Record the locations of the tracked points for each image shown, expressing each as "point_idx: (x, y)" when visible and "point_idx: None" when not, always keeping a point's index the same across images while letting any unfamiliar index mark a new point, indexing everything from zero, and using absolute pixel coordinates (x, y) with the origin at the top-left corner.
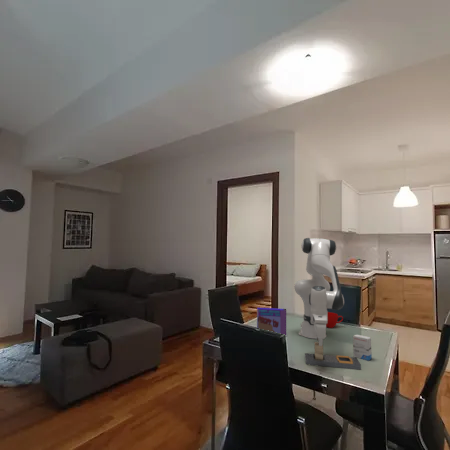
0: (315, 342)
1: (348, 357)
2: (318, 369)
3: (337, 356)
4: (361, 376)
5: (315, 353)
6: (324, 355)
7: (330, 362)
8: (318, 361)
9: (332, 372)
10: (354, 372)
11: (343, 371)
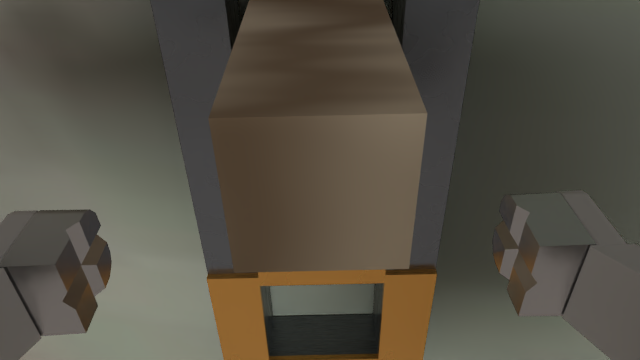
0: (372, 133)
1: (383, 357)
2: (37, 4)
3: (393, 280)
4: (92, 348)
5: (241, 31)
6: (423, 146)
7: (192, 187)
8: (162, 38)
9: (40, 158)
10: (154, 321)
11: (131, 252)
